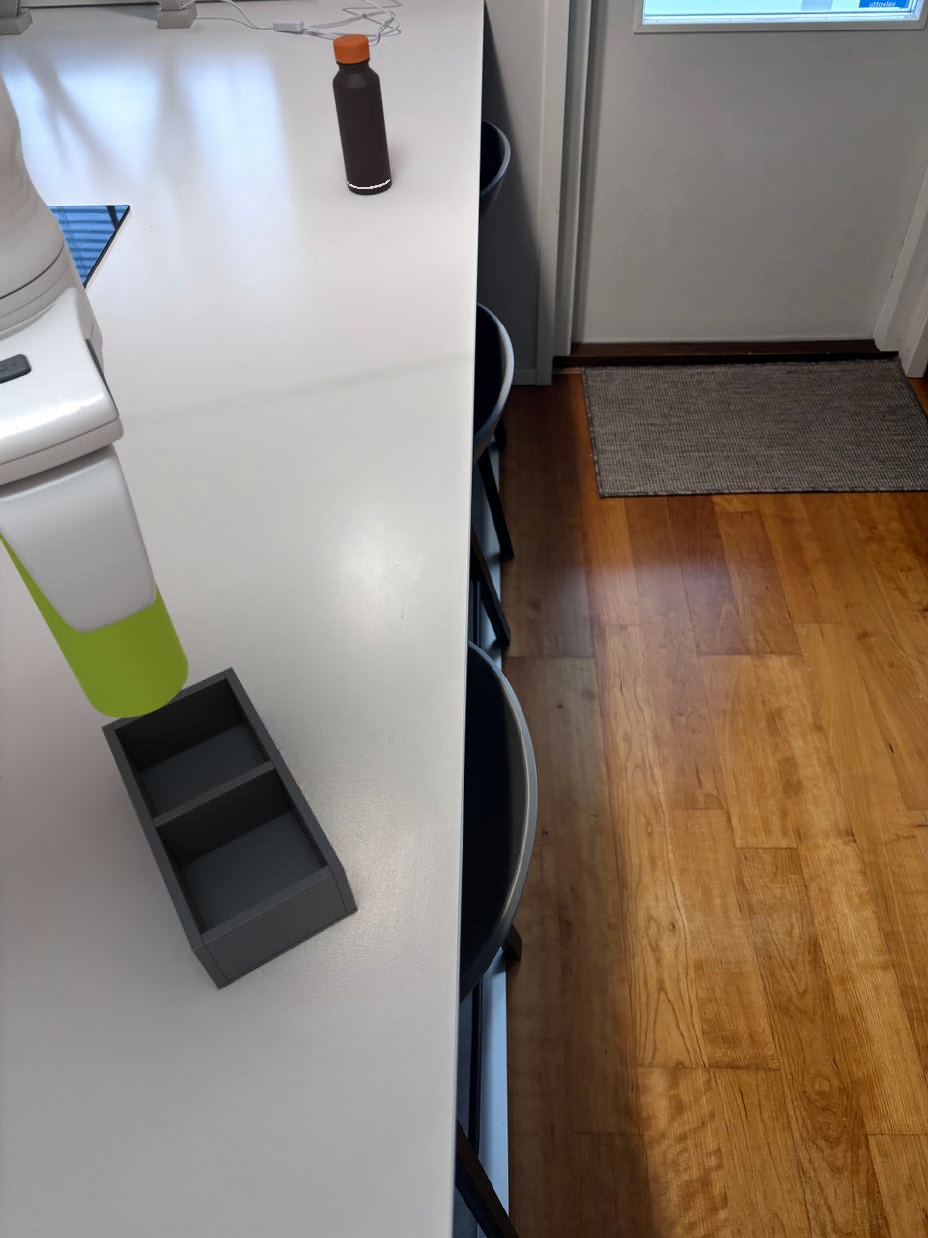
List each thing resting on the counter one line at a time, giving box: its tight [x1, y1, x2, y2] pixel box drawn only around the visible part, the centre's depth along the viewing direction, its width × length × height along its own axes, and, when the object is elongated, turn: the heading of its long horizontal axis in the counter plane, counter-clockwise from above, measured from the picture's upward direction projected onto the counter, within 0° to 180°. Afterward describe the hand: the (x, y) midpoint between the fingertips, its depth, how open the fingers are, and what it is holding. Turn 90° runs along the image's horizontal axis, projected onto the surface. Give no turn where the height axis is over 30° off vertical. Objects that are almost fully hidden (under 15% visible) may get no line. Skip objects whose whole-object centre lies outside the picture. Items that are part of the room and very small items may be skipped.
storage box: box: [101, 666, 359, 990], centre depth 70 cm, size 11×20×6 cm, turn 31°
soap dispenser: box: [0, 533, 189, 719], centre depth 48 cm, size 6×7×20 cm
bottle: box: [331, 33, 392, 195], centre depth 138 cm, size 7×7×20 cm
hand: (98, 567), depth 49 cm, fingers closed on soap dispenser, 6 cm apart
